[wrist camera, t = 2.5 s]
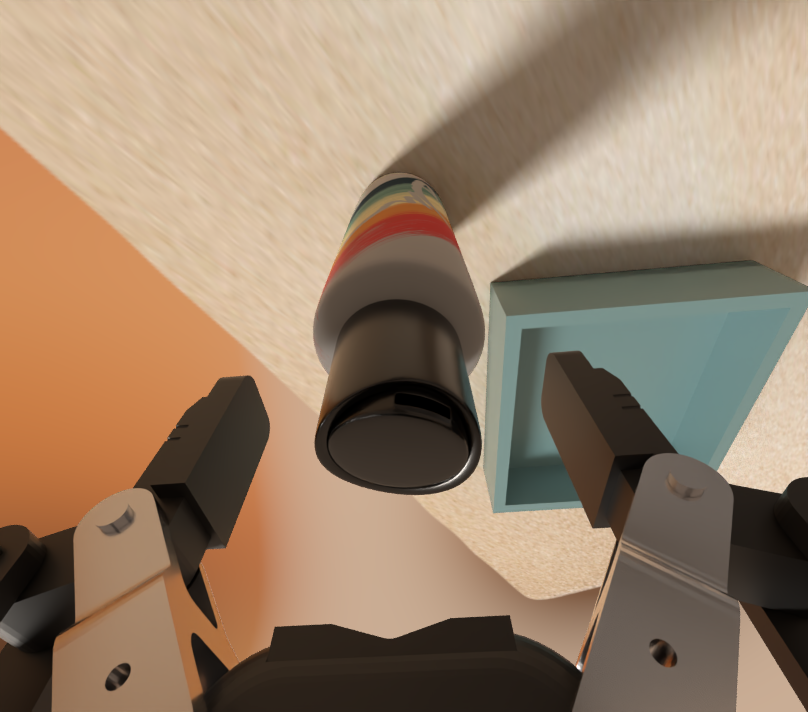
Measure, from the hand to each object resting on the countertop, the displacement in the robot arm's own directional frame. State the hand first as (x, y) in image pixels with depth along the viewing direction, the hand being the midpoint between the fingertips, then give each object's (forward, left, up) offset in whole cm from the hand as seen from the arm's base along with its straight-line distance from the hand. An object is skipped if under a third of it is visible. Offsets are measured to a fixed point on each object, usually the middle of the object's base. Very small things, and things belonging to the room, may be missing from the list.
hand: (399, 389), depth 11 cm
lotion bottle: (0, 0, -18) cm, 18 cm away
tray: (+15, +15, -17) cm, 27 cm away
